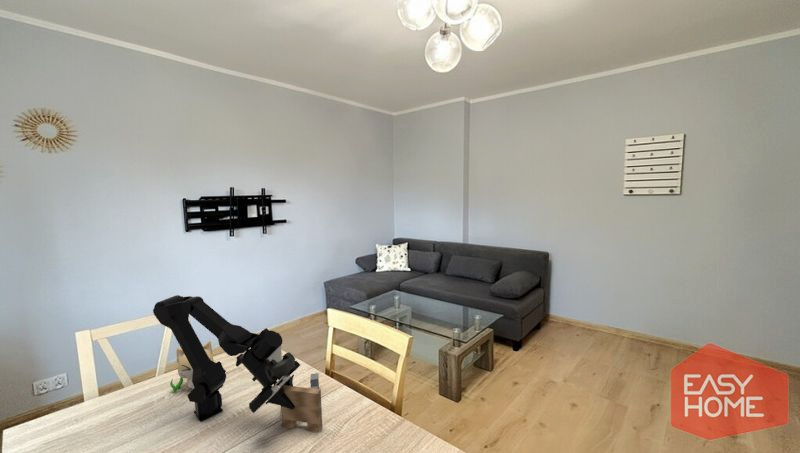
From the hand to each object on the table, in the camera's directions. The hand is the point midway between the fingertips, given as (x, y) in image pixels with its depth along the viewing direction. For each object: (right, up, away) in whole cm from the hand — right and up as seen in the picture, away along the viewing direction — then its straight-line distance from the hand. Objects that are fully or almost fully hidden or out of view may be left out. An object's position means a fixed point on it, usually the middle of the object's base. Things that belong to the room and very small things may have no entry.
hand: (295, 405), depth 96 cm
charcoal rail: (+2, -5, +14) cm, 15 cm away
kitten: (-43, -5, +22) cm, 48 cm away
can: (-20, -3, +33) cm, 39 cm away
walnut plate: (+2, -7, +1) cm, 7 cm away
